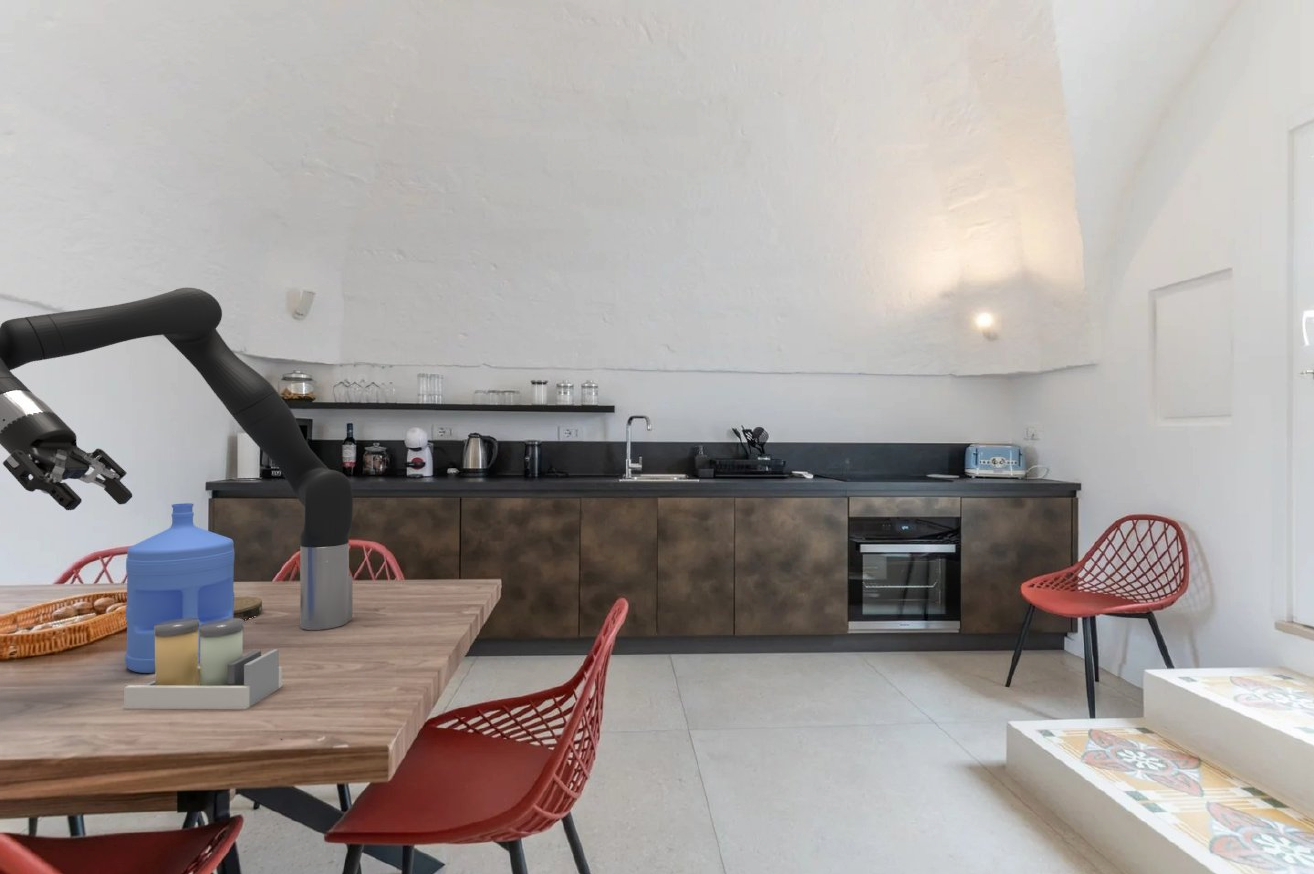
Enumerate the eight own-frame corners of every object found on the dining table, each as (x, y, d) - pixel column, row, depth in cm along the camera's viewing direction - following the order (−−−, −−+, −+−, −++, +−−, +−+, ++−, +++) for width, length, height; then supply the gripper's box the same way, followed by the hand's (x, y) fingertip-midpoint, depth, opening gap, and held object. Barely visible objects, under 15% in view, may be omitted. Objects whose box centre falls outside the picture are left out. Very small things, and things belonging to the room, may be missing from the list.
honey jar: (184, 687, 97) (184, 616, 97) (208, 692, 95) (207, 619, 95) (145, 700, 92) (145, 626, 92) (169, 706, 90) (169, 629, 90)
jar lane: (124, 715, 90) (124, 666, 90) (170, 691, 98) (170, 647, 98) (245, 715, 89) (245, 666, 89) (281, 692, 98) (281, 647, 98)
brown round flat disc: (218, 608, 149) (218, 595, 149) (278, 610, 147) (278, 597, 147) (155, 627, 133) (155, 613, 133) (222, 630, 131) (222, 616, 131)
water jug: (118, 660, 113) (119, 504, 113) (222, 639, 124) (223, 498, 124) (133, 682, 102) (133, 510, 102) (244, 658, 113) (245, 503, 114)
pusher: (227, 704, 91) (227, 664, 91) (254, 688, 97) (254, 650, 97) (239, 704, 91) (239, 664, 91) (266, 688, 97) (266, 650, 97)
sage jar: (227, 687, 97) (227, 616, 97) (251, 692, 95) (251, 620, 95) (190, 701, 92) (190, 626, 92) (215, 706, 90) (215, 630, 90)
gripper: (-6, 407, 87) (75, 489, 87) (88, 412, 101) (158, 482, 101) (-44, 445, 87) (37, 527, 87) (56, 445, 102) (126, 515, 101)
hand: (102, 503), depth 94 cm, fingers open, 8 cm apart
